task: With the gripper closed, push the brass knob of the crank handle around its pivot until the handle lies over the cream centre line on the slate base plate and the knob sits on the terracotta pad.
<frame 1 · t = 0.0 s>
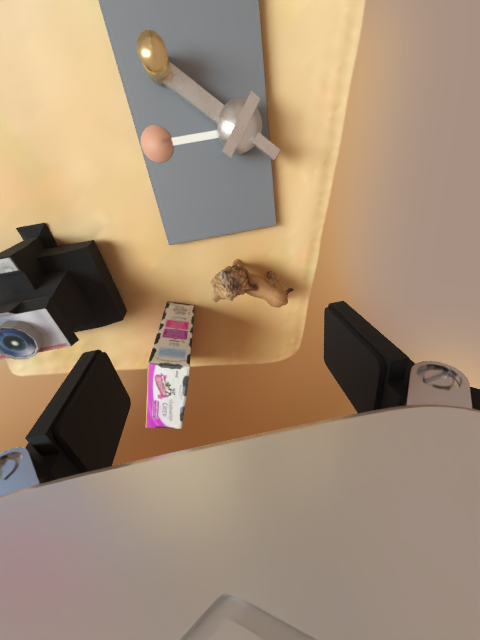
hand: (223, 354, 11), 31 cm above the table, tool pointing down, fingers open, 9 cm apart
camera: (57, 277, 39), on the table
crank handle: (216, 108, 28), point 4 cm above the table, hinge at -40.0°
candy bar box: (177, 330, 46), on the table
base plate: (201, 118, 32), on the table
lion figurine: (249, 279, 43), on the table
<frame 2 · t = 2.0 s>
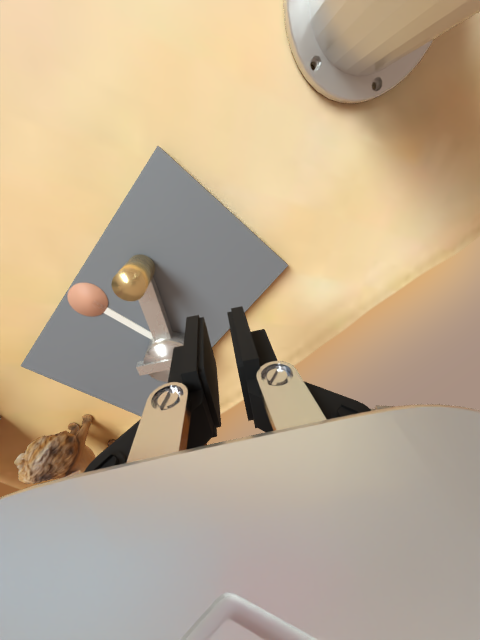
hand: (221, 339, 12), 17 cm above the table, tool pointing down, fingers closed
crank handle: (159, 339, 27), point 4 cm above the table, hinge at -40.0°
base plate: (152, 312, 29), on the table
lion figurine: (89, 432, 38), on the table
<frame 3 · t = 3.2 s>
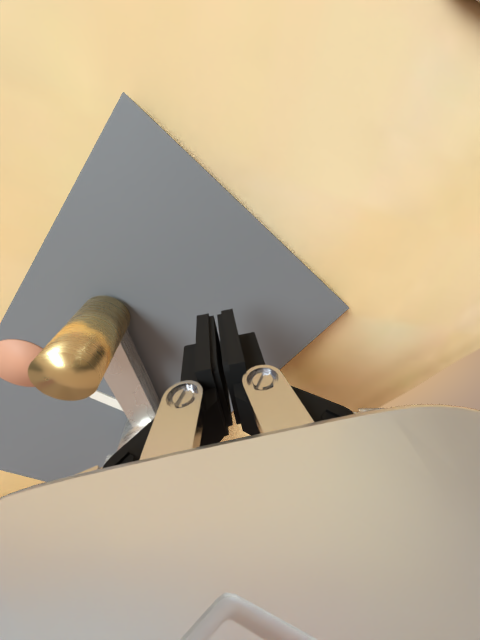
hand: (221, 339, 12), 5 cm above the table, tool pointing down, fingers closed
crank handle: (138, 429, 16), point 4 cm above the table, hinge at -40.0°
base plate: (131, 373, 19), on the table
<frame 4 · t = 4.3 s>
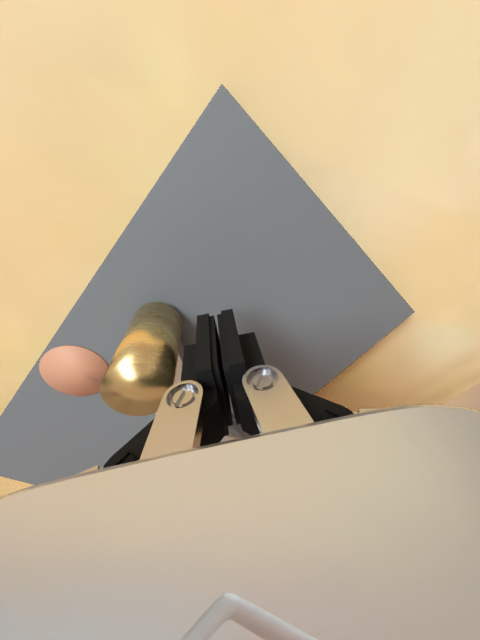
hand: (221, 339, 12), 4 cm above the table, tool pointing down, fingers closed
crank handle: (195, 441, 15), point 4 cm above the table, hinge at -35.6°, touching gripper
base plate: (181, 380, 18), on the table
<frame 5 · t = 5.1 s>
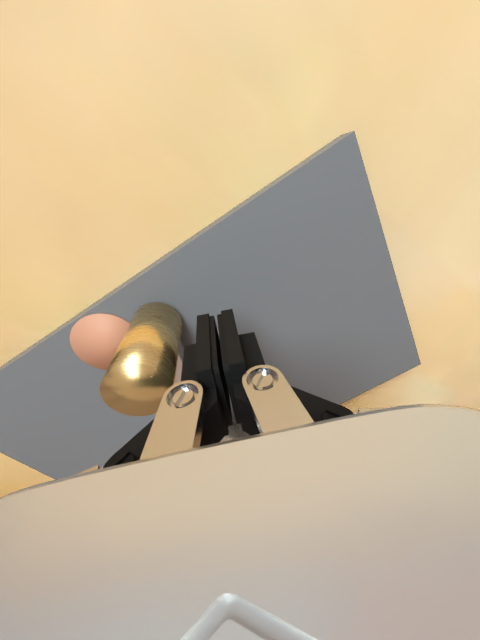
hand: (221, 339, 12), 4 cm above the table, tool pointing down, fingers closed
crank handle: (194, 442, 15), point 4 cm above the table, hinge at -18.8°, touching gripper
base plate: (198, 376, 18), on the table
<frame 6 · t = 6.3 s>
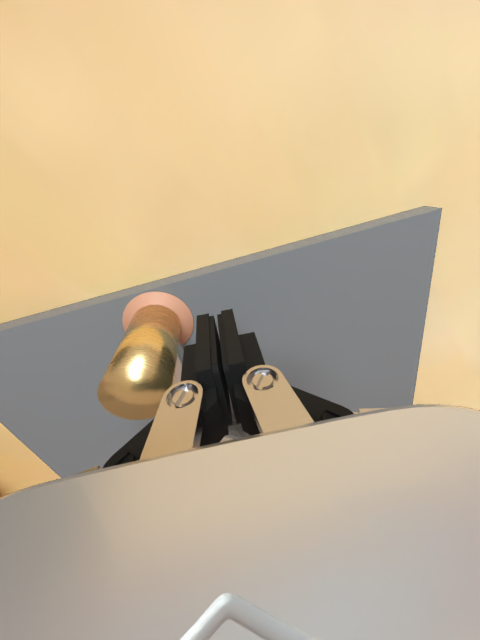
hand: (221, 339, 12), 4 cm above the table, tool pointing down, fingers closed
crank handle: (197, 443, 15), point 4 cm above the table, hinge at 0.5°, touching gripper
base plate: (221, 376, 18), on the table
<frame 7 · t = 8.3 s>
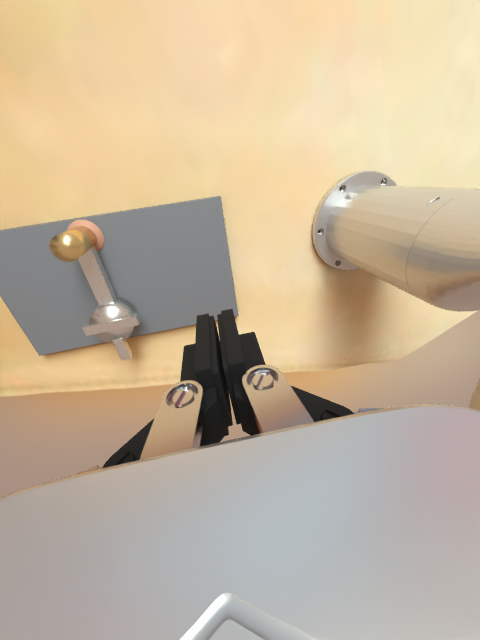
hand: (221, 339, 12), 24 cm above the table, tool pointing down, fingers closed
crank handle: (102, 301, 30), point 4 cm above the table, hinge at 0.6°
base plate: (124, 279, 34), on the table
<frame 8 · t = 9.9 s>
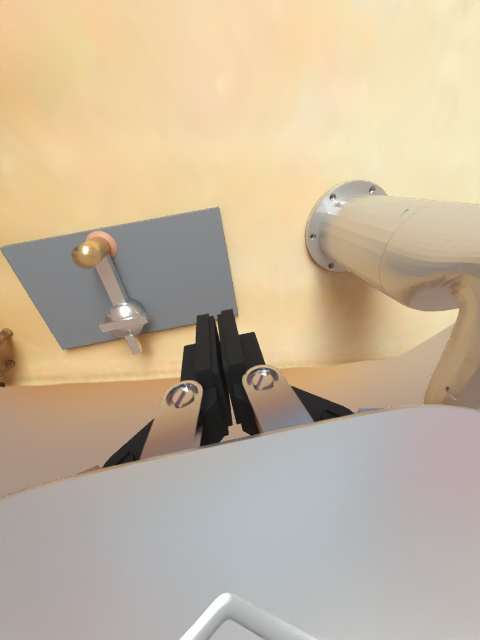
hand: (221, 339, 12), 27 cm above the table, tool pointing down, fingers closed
crank handle: (115, 302, 34), point 4 cm above the table, hinge at 0.6°
base plate: (135, 282, 38), on the table
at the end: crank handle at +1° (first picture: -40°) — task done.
